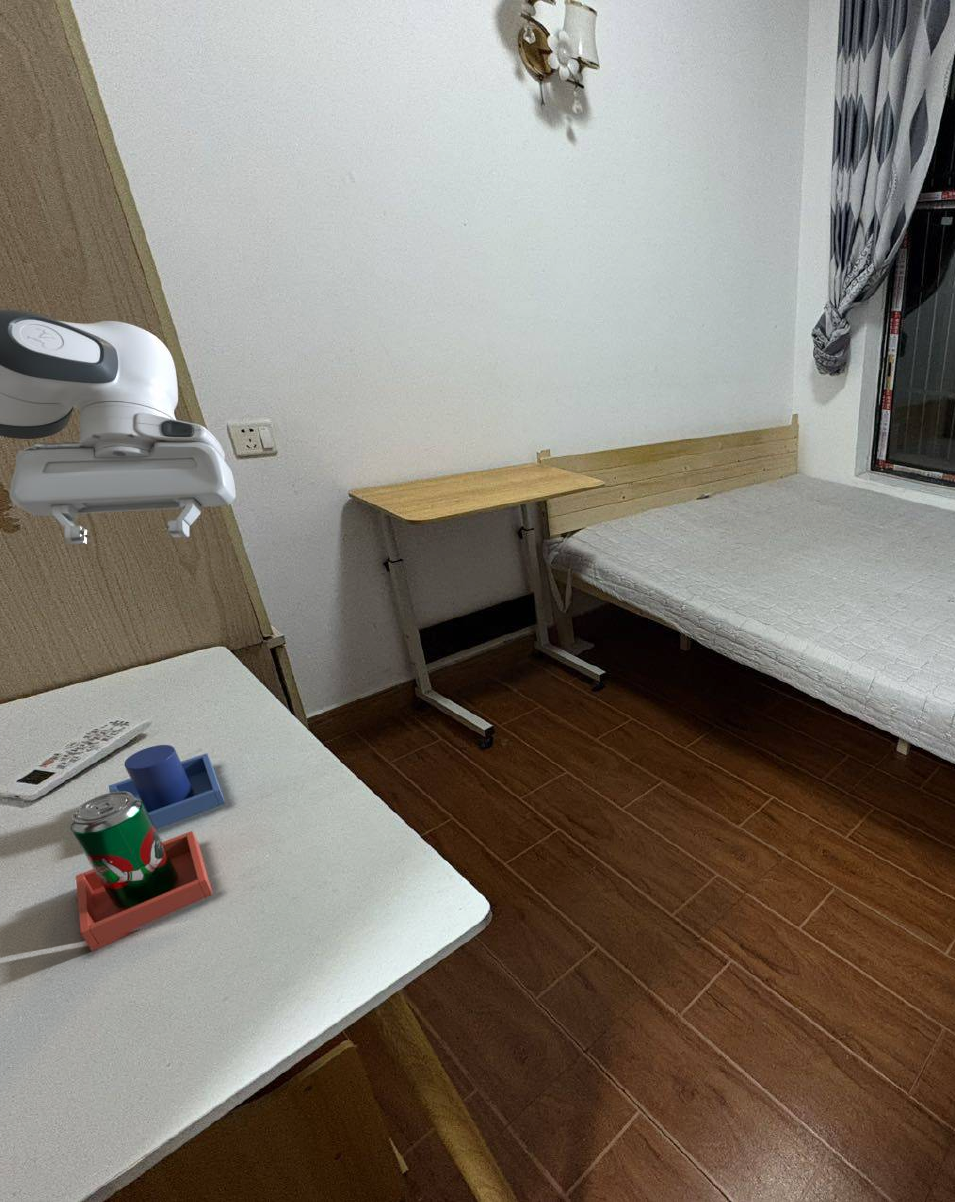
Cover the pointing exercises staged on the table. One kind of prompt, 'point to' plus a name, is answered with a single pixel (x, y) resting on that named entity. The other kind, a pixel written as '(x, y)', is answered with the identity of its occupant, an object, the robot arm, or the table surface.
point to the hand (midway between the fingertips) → (129, 539)
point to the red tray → (114, 923)
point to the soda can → (124, 848)
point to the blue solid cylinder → (158, 777)
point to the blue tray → (203, 799)
